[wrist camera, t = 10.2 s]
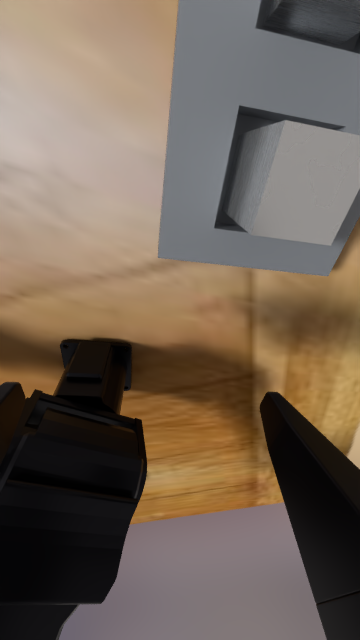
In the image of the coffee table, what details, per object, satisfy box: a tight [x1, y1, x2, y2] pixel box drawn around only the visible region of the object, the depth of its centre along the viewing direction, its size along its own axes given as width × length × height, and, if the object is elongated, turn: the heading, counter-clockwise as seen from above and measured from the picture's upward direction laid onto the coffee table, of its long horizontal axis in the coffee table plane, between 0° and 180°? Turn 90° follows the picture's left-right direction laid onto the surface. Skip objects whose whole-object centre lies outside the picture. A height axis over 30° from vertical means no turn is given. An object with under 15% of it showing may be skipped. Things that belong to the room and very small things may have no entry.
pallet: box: [158, 0, 360, 276], centre depth 12 cm, size 18×12×3 cm, turn 172°
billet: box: [223, 120, 360, 246], centre depth 12 cm, size 4×4×6 cm
